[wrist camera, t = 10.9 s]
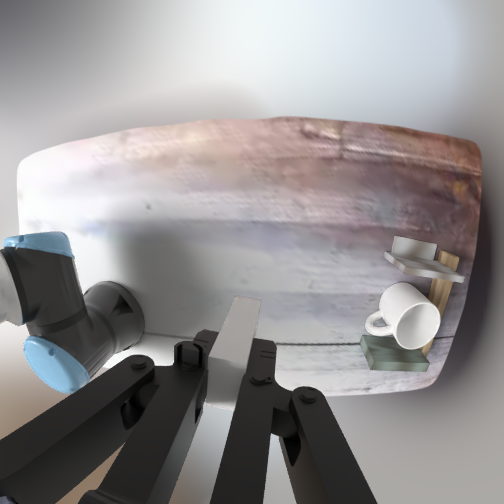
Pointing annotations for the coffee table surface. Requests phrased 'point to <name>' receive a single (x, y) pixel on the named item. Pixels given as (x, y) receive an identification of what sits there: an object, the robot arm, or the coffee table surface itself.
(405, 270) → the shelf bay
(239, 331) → the robot arm
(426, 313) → the mug
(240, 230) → the coffee table surface
